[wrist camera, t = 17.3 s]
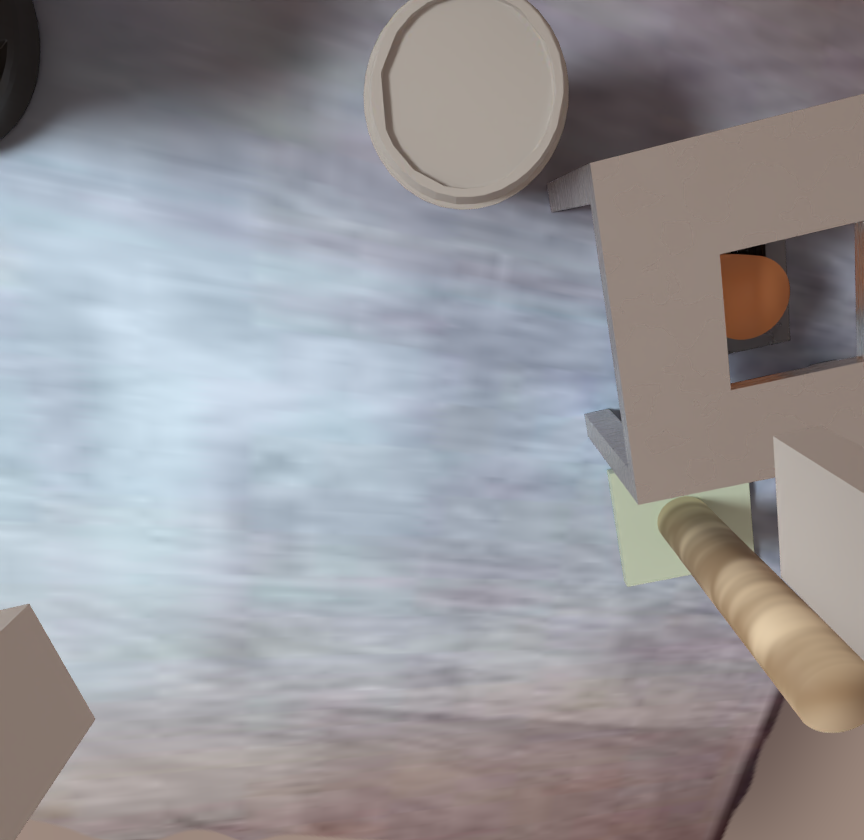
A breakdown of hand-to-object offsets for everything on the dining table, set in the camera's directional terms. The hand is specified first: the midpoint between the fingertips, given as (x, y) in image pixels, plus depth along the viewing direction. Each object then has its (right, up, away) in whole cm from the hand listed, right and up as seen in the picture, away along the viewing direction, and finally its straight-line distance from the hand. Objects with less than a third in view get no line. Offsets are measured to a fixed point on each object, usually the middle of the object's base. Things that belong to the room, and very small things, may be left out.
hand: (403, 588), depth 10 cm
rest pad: (+20, -4, +35) cm, 40 cm away
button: (+19, +12, +29) cm, 36 cm away
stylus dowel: (+20, -5, +34) cm, 40 cm away
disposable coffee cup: (+2, +21, +27) cm, 34 cm away
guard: (+19, +12, +30) cm, 37 cm away
